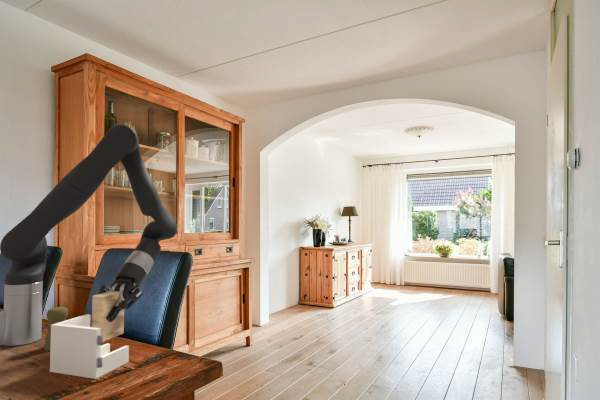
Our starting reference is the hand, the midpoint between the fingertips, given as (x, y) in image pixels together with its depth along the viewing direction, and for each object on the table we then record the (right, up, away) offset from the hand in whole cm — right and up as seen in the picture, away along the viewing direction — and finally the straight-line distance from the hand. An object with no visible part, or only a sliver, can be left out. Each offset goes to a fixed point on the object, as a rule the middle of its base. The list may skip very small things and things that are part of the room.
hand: (102, 319), depth 102 cm
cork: (-15, -9, +4) cm, 18 cm away
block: (+1, -5, +2) cm, 6 cm away
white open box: (+3, -8, -10) cm, 14 cm away
